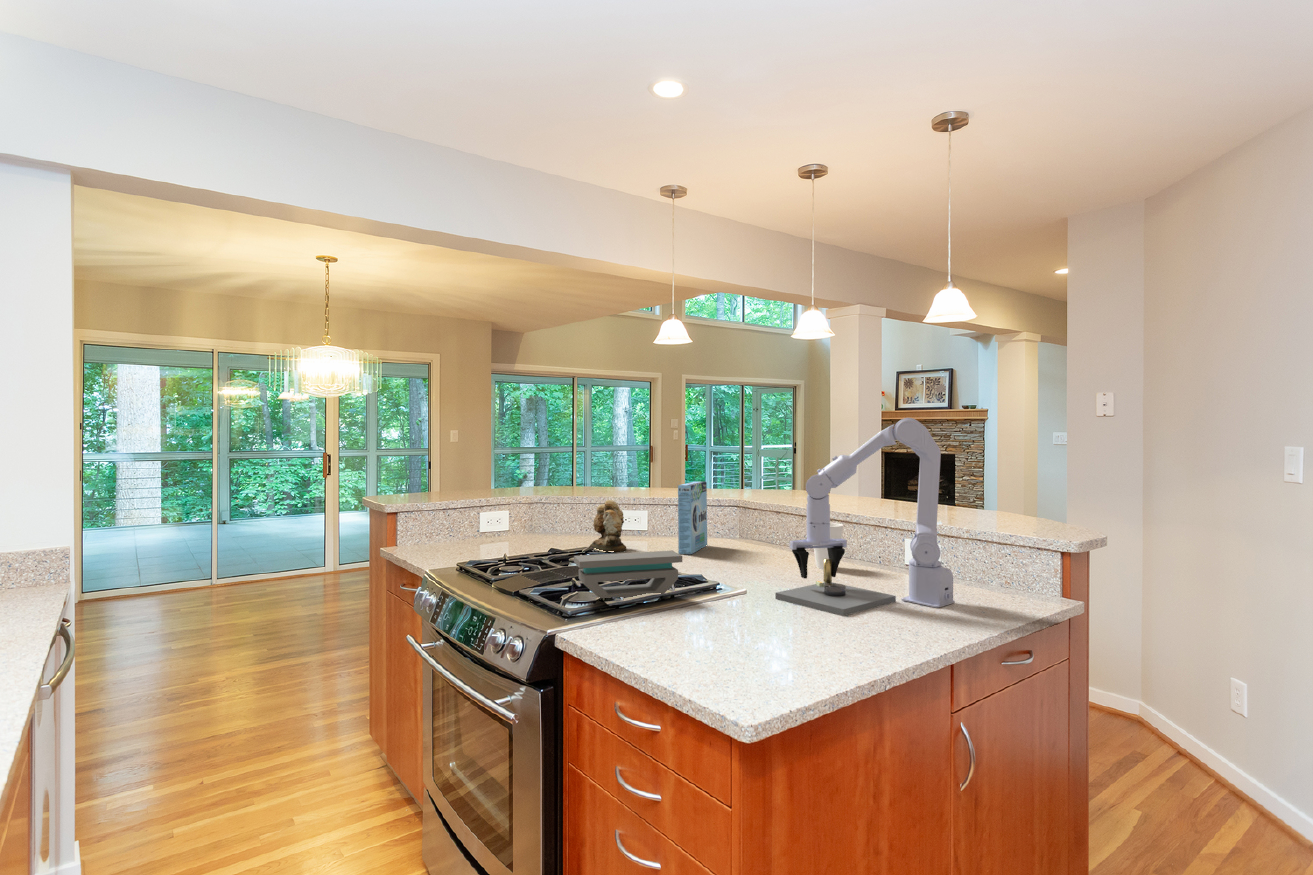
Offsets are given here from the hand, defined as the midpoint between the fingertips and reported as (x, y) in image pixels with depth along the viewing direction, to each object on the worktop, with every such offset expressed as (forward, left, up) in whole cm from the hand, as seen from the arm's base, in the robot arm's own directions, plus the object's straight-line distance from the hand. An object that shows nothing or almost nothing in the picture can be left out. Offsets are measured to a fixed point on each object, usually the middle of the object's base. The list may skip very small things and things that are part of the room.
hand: (818, 576), depth 174 cm
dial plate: (-7, +2, -4) cm, 8 cm away
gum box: (+68, -18, -4) cm, 71 cm away
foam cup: (+19, -28, -4) cm, 34 cm away
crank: (-5, 0, -3) cm, 5 cm away
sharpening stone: (+24, +41, -4) cm, 48 cm away
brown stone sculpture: (+88, +4, -5) cm, 89 cm away
